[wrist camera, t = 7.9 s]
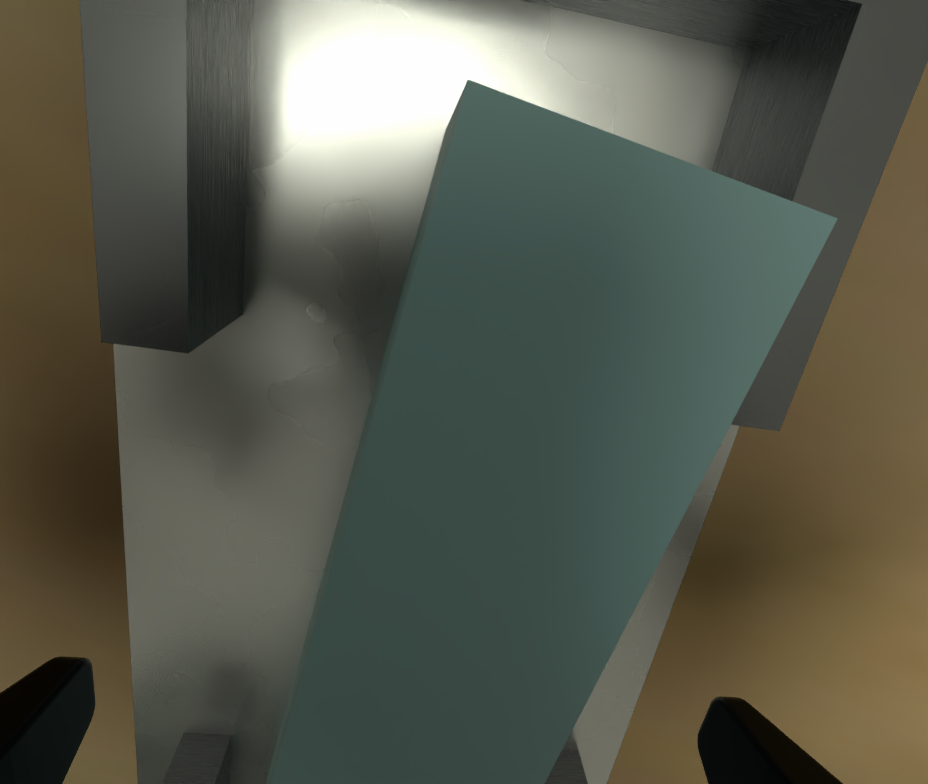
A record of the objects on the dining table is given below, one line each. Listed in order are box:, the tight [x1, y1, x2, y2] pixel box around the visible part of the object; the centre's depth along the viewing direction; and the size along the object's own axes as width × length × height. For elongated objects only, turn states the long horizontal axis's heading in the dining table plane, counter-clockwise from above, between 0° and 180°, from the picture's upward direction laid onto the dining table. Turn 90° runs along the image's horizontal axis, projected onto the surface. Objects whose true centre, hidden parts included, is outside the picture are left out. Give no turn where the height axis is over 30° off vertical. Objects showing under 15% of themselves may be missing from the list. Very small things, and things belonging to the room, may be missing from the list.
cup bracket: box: [80, 0, 928, 784], centre depth 10 cm, size 22×11×3 cm, turn 170°
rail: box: [265, 79, 838, 784], centre depth 9 cm, size 15×4×4 cm, turn 162°
